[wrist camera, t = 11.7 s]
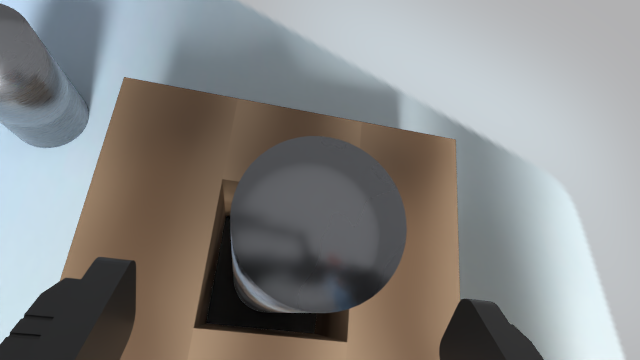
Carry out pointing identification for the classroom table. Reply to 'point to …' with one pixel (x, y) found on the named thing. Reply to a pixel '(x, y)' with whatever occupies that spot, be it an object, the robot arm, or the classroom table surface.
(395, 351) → the bore block
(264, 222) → the long pin
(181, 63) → the classroom table surface
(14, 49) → the short pin
